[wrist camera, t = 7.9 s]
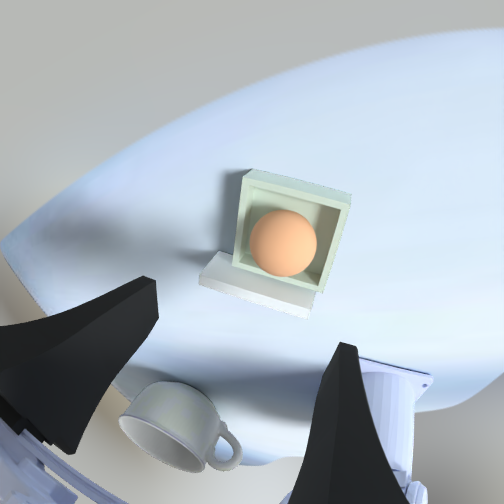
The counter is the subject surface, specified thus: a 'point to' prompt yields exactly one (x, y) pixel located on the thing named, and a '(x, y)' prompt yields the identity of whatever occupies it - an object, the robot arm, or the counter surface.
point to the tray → (298, 200)
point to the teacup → (178, 427)
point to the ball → (283, 243)
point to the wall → (256, 287)
